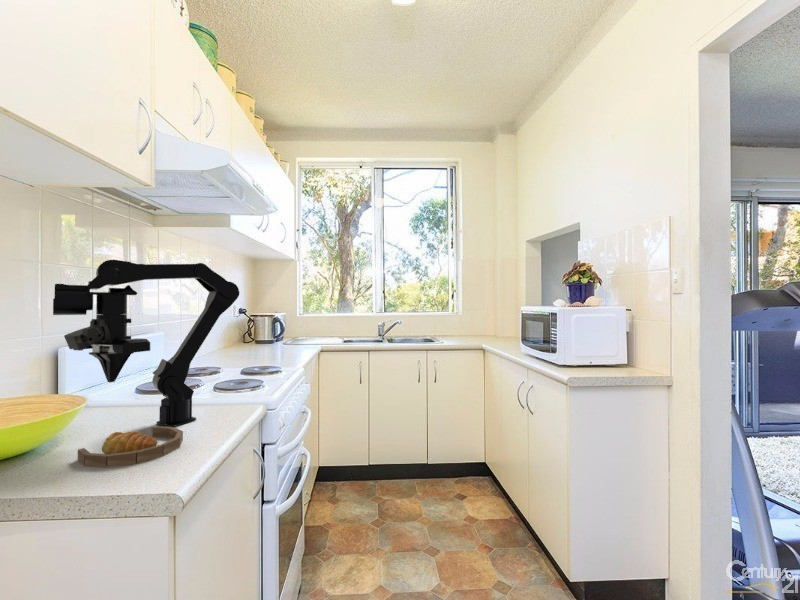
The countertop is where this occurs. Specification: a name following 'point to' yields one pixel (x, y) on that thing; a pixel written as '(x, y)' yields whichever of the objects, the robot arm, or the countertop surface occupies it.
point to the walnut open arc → (135, 456)
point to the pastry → (127, 442)
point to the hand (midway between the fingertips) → (111, 382)
